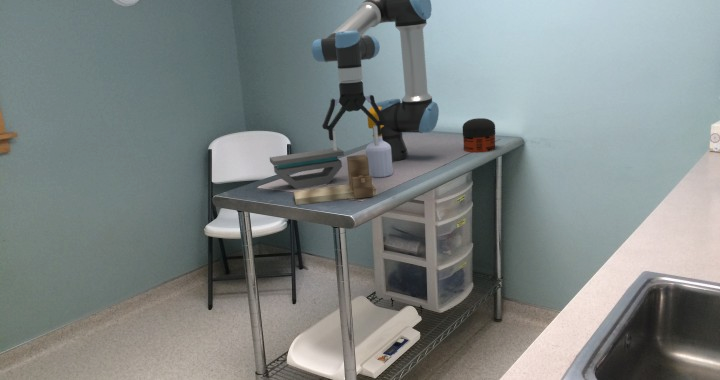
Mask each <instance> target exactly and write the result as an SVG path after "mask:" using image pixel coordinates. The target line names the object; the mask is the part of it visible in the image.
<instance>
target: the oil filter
mask: <svg viewBox="0 0 720 380" xmlns="http://www.w3.org/2000/svg"><path fill="white" fill-rule="evenodd" d="M462 137H463V140H462V141H463V151H465V152H468V153H477V154H478V153H488V152H491V151H494V150H496V124H495V122H494V121H493V120H491V119H489V118H485V117H484V118H483V117H481V118H480V117H476V118H470V119H469V120H466V121H465V122H464V123H463V125H462Z"/></svg>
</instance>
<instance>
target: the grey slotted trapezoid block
mask: <svg viewBox="0 0 720 380" xmlns="http://www.w3.org/2000/svg"><path fill="white" fill-rule="evenodd" d="M342 156H345V153H344V150H342V149H341V148H339V147H337V151H334V150H333V147H332V148H325V149H319V150H317V149H316V150H312V151H311V150H310V151H305V152H298V153H292V154H285V155H284V154H283V155H277V156H270V157H269V162H270V164H272V165H273V170H274V172H273V173H275V174H276V176H277V177H279V178H280V179H281V180H283V181H285V183H287V184H289V185H290V186H291V187H293V188H294V189H296V190H299V189H304V188H311V187H317V186H323V185H329V184H330V182H331V181H332V180H333V178H334V177H335V176H336V175H337V174H338V172H339V171H340V170H341V169H342V167H343V166H342V165H343V163H342V162H343V161H342V160H341V159H339V158H338V157H342ZM313 170H322V171H319V172H313V173H307V174H300V175H299V174H298V175H292V176H291V175H290V174H294V173H301V172H307V171H313Z"/></svg>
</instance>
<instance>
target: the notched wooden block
mask: <svg viewBox="0 0 720 380" xmlns="http://www.w3.org/2000/svg"><path fill="white" fill-rule="evenodd" d="M346 161H347V172H348V184H349V186H350V187H351V189H352V190H354V198H353V199H363V198H371V197H374V195H373V186H374V185H373V186H372V184H373V177H372V176H371V175H369V164H368V157H367V156H366V153H365V154H358V155H357V154H356V155H349V156H346Z"/></svg>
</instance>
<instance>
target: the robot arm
mask: <svg viewBox="0 0 720 380" xmlns="http://www.w3.org/2000/svg"><path fill="white" fill-rule="evenodd" d="M432 10H433V9H432V3H431V0H364V1H363V2H362V3H360V5H359V6H358V8H357V10H356V12H354V13H353V14H352V15H351V16H349V18H347V20H346V21H344V22H343V23H341V25H340V26H339V27H337V28H336V29H335V30H333V32H332V33H331V34H329V35H328V36H327V37H326V38H319V39H315V40H314V41H313V42H312V45H311V53H312V58H313V59H314V60H316V62H320V63H321V62H322V63H323V62H324V63H328V62H336V64H337V75H338V81H339V84H338V87H339V98H330V99H329V100H330V101H329V104H330V105H329V108H328V109H327V112H326V115H325V118H324V120H323V123H322V125H321V126H322V129H323V130H326V131H328V139H329V141H332V148H333V150H334V151H337V148H338V147H337V140H336V139H337V138H336V137H337V136H336V130H335V129H334V128H335V126H336V125H337V124H338V123H339V121H340V119H341V118H342V117H343V115H345V113H346V111H347V112H349V113H350V112H358V111H362V112H363V113H364V114H365V115H366V116H368V117H369V118H370V119H371V120H372V121H373V122H374V123H375V124H376V125H373V128H374V131H373V130H372V135H373V134H374V142H375V146H379V145H378V135H381V134H382V140H383V141H385V142H387V143H388V144H389V145H390V146H391V155H392V162H396V161H402V160H405V159H407V158H409V151H408V150H409V149H408V147H407V145H406V143H405V141H404V138H403V133H415V134H416V133H417V134H423V133H426V134H427V133H431V132H433V131H434V129H435V128H436V127H437V123H438V121H439V115H440V114H439V113H440V112H439V106H438V103H437V102H434V101H433V96H432V95H431V94H429V92H428V82H427V81H428V80H427V79H428V78H427V68H426V66H427V65H426V53H425V39H424V38H425V37H424V28H425V27H426V25H427V21H428V20H429V18H430V17H431V16H432ZM383 23H395V24H394V26H395V29H397V30H398V31H399V35H400V37H399V38H400V47H401V48H400V49H401V58H402V59H401V60H402V70H403V72H402V73H403V81H404V83H403V84H404V96H403V97H402V98H401V99H400V98H392V99H388V100H387V99H386V100H383V101H382V100H381V101H378V102H376V101H375V97H374V95H373V94H369V95H366V96H365V94H364V82H363V81H362V80H363V69H362V68H363V67H362V61H364V60H365V61H366V60H371V59H374V58H375V57H377V56H378V54H379V53H380V42H379V40H378V39H377V38H376V37H375V36H372V35H369V34H367V35H365V33H366V32H367V31H369V30H370V29H371V28H375V27H377V26H378V25H379V24H383ZM366 101H367V102H368V103H370V106H371V107H373V109H374V110H375V112H376V114H377V116H378V118H379V121H378V120H377V119H376V118H375V117H374V116H373V115H372V114H371V113H370V112H369V110H368V109H367V108H366V107H365V106H364V104H365V103H366ZM338 103H339V104H340V106H341V107H340V109H339V111H338V112H337V113H336V114H335V116H334V118H333V119H332V120H331V117H332V115H333V113H334V110H335V108H336V106H338ZM378 107H382V109H381V110H379V108H378ZM368 117H367V118H368ZM330 120H331V122H330ZM329 123H330V124H329ZM381 125H384V127H382V128H380V126H381ZM373 128H372V129H373Z"/></svg>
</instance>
